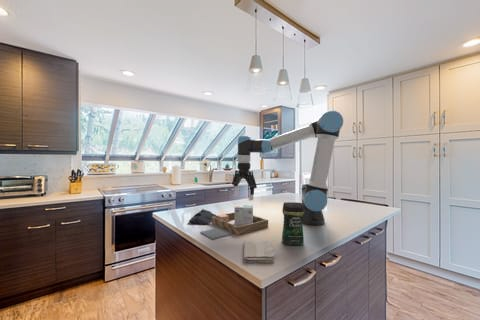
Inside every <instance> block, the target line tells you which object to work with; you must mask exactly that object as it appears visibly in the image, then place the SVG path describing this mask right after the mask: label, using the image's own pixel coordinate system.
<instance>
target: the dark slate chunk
mask: <svg viewBox="0 0 480 320" xmlns="http://www.w3.org/2000/svg"><path fill="white" fill-rule="evenodd" d="M213 216H217V214H214V213H213V212H212V211H210V210H207V209H204V208H202V209H201V210H200V211H199V212H197V213H195V214H194V215H193V216H192V217H191V218H190V219H189V220H188V222H189V223H190V224H196V223H197V224H198V225H204V226H207V225H212V217H213Z"/></svg>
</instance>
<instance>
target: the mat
mask: <svg viewBox="0 0 480 320" xmlns="http://www.w3.org/2000/svg"><path fill="white" fill-rule="evenodd" d="M200 234H201V235H202V236H206V237H207V238H208V239H210V240H218V239H221V238H225V237H228V236H231V235H234V233H232V232H230V231H227V230H225V229H223V228H221V227H216V228H211V229H207V230H203V231H200Z"/></svg>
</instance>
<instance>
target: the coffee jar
mask: <svg viewBox="0 0 480 320" xmlns="http://www.w3.org/2000/svg"><path fill="white" fill-rule="evenodd" d="M281 210H282V214H283V226H282V233H281V235H282V236H281V240H282V241H281V242H282V243H283V244H285V245H287V246H302V245H304V241H305V240H304V229H303V223H302V217H303V214H304V207H303V204H302V202H296V201H295V202H293V201H292V202H290V201H288V202H283V204H282V209H281Z"/></svg>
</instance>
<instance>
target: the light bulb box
mask: <svg viewBox="0 0 480 320" xmlns="http://www.w3.org/2000/svg"><path fill="white" fill-rule="evenodd" d="M234 212H235V219H234V225H235V226H243V225H247V224H252V223H253V215H254V205H253V204H252V205H251V204H250V205H249V204H248V205H247V204H246V205H245V204H244V205H243V204H236V205H235V206H234Z"/></svg>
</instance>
